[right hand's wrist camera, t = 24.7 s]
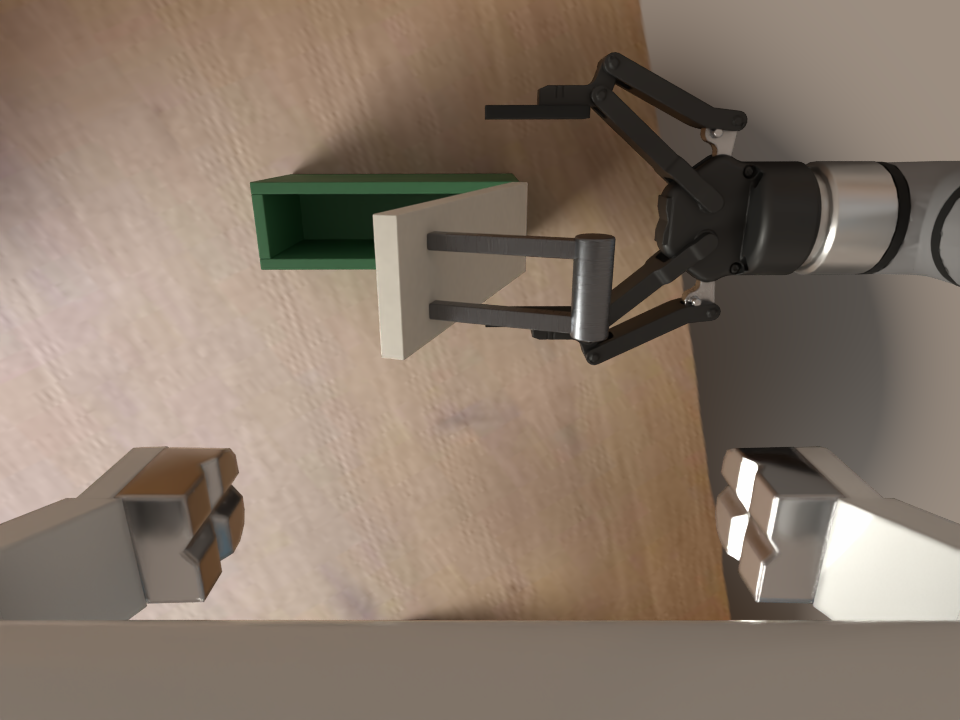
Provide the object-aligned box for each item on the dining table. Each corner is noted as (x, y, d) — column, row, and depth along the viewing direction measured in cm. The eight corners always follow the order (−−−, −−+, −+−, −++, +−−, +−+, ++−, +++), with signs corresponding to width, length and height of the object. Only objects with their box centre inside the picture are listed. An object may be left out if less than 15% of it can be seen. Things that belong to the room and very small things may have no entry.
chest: (298, 247, 48) (260, 269, 40) (290, 174, 46) (249, 182, 38) (511, 246, 48) (517, 269, 40) (512, 173, 46) (519, 181, 38)
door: (381, 357, 24) (594, 384, 21) (372, 214, 22) (605, 223, 19) (511, 270, 40) (643, 279, 37) (512, 181, 38) (651, 184, 35)
